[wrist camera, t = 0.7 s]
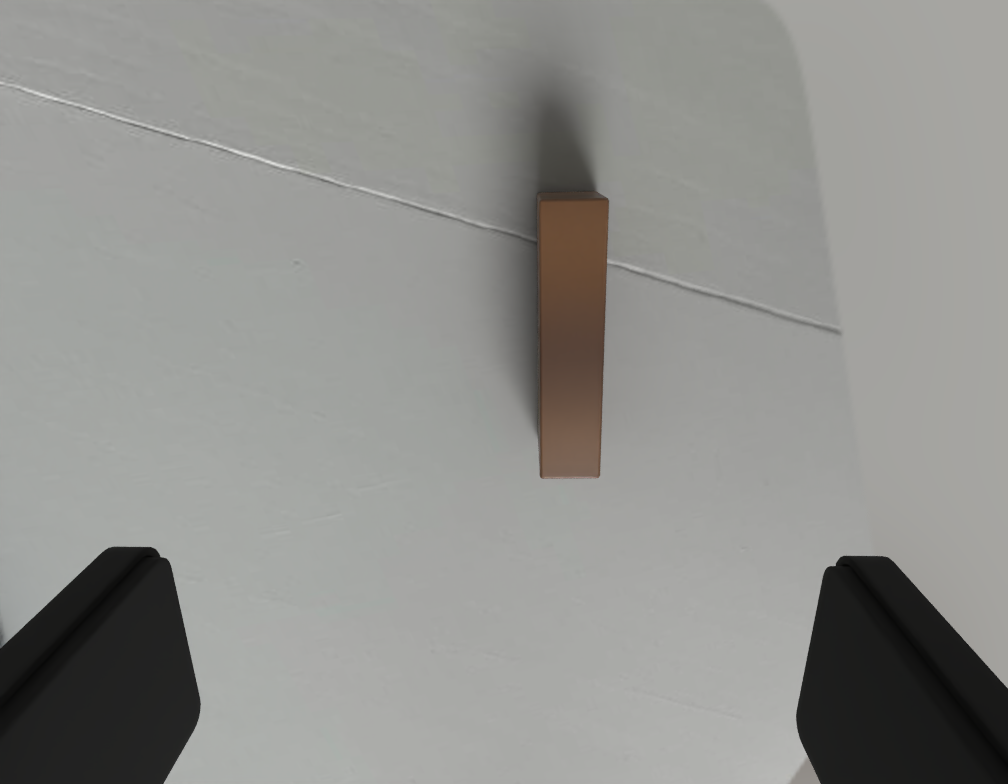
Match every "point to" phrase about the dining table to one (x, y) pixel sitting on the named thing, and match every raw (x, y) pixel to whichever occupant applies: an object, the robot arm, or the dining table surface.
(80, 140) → the dining table surface
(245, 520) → the dining table surface
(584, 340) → the brown wooden block
